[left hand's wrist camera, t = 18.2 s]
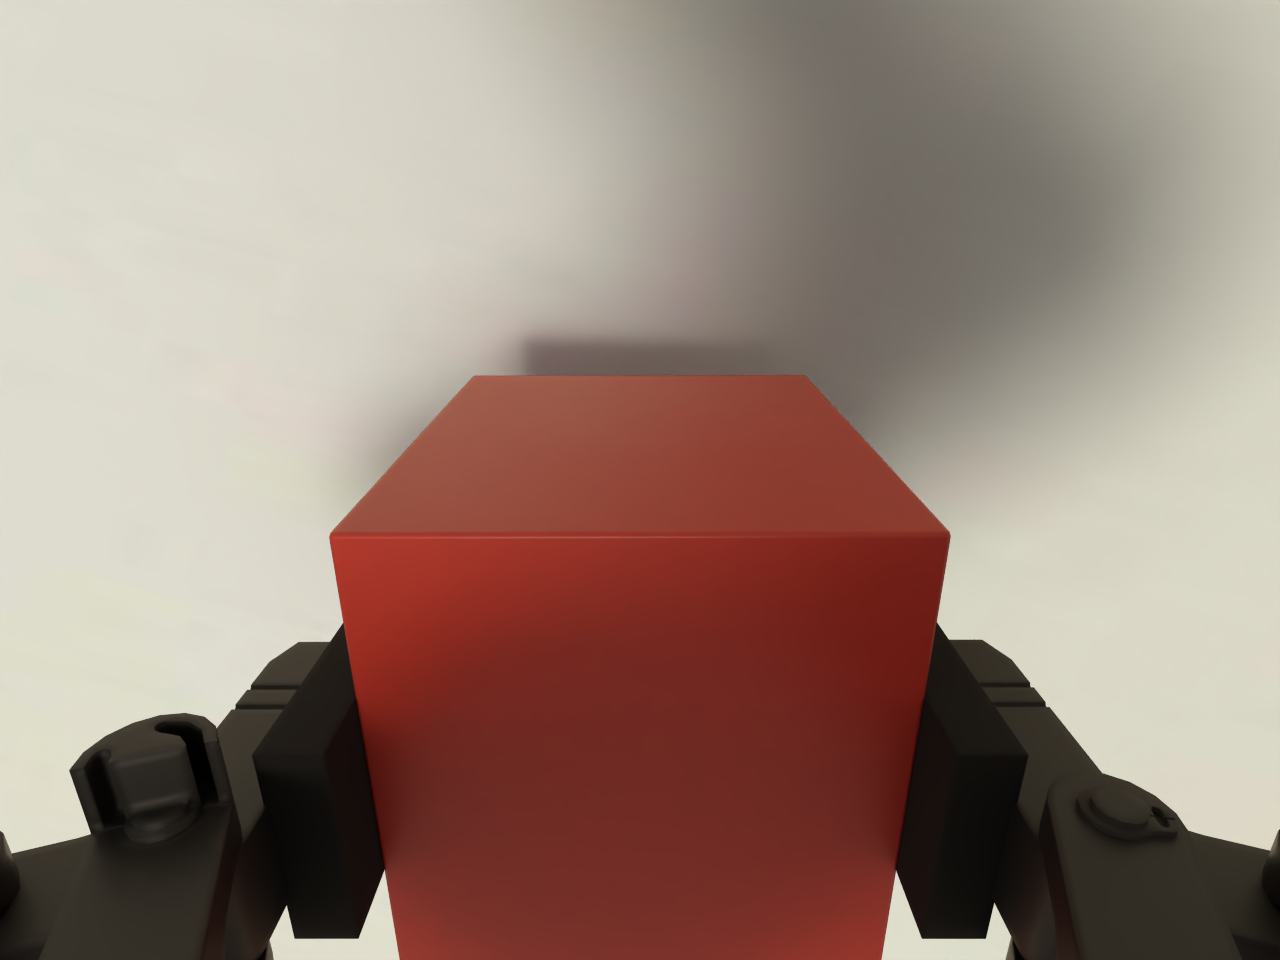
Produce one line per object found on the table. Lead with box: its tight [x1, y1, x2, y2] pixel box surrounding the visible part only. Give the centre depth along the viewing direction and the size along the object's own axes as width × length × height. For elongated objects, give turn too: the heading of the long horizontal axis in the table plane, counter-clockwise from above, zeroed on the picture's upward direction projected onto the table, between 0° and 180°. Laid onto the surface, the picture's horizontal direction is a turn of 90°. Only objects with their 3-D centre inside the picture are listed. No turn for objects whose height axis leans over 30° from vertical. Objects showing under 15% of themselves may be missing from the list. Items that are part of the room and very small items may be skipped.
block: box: [329, 375, 951, 960], centre depth 13 cm, size 7×7×8 cm
